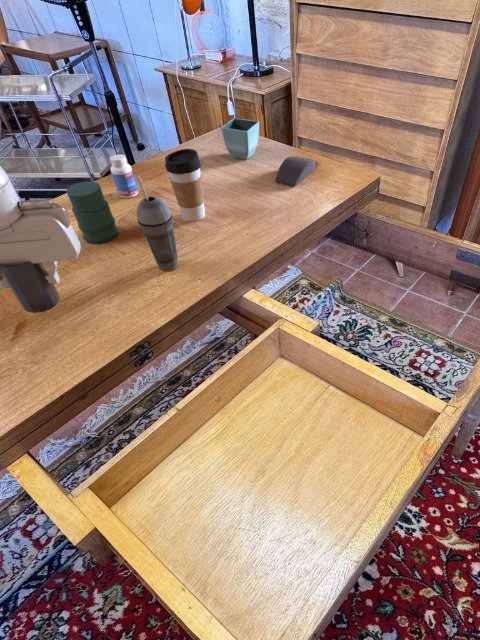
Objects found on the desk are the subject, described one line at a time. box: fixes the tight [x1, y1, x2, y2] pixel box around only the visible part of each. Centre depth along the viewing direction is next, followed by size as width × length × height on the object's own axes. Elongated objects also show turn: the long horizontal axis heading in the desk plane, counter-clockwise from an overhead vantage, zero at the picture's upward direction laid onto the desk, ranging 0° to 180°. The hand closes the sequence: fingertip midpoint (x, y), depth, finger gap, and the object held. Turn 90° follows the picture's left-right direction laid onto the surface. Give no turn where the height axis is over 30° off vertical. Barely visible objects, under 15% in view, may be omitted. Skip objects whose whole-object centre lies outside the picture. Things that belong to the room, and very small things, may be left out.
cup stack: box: [66, 180, 120, 245], centre depth 106 cm, size 9×9×12 cm
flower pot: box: [220, 117, 260, 161], centre depth 135 cm, size 9×9×9 cm
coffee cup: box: [164, 148, 206, 222], centre depth 109 cm, size 8×8×15 cm
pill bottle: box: [109, 153, 139, 199], centre depth 120 cm, size 6×5×10 cm
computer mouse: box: [274, 156, 316, 188], centre depth 128 cm, size 8×14×4 cm, turn 151°
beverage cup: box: [136, 174, 179, 272], centre depth 93 cm, size 7×7×20 cm
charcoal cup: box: [0, 261, 61, 314], centre depth 74 cm, size 6×6×9 cm
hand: (31, 284), depth 75 cm, fingers closed on charcoal cup, 6 cm apart
